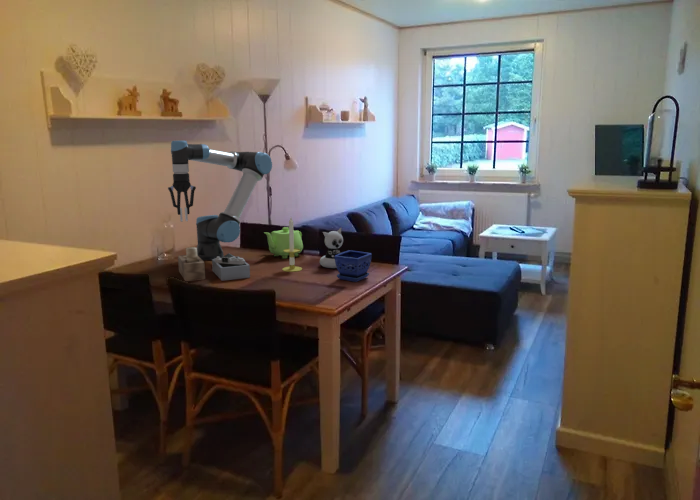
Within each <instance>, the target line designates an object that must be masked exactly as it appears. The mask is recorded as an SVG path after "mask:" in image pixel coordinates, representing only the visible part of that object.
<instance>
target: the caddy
mask: <svg viewBox="0 0 700 500" xmlns="http://www.w3.org/2000/svg"><path fill="white" fill-rule="evenodd" d="M235 257H236V258H241V257H240V256H235ZM211 268H212V270H211V271H212V272H213V273H214V274H215V275H216V276H217V277H218V279H220V281H230V280H241V279H250V278H251V266H250V264H249V263H248V262H246V261H245V265H242V266H232V267H222V266H221V265H220V264H219V263H216V262H215V259H212V260H211Z"/></svg>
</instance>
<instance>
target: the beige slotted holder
mask: <svg viewBox="0 0 700 500" xmlns="http://www.w3.org/2000/svg"><path fill="white" fill-rule="evenodd" d="M197 257H198V262H189V263H187V258H186V254H183V255H177V261H178V262H177V264H178V272H179V274H180V275H181V277H182V278H183V281H185V282H191V281H199V280H206V269H205V266H206V265H205V261H204V260H202V259H201V258H200V257H199V256H198V255H197Z"/></svg>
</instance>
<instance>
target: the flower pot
mask: <svg viewBox="0 0 700 500" xmlns="http://www.w3.org/2000/svg"><path fill="white" fill-rule="evenodd" d="M372 256H373V255H372V252H366V251H365V252H364V251H358V250H352V249H351V250H349V249H348V250H346V251H342V252H340V254H338V255H335V257H334V258H335V264H336V267H337V268H336V269H337V271H338V274H337V275H336V277H337V279H339V280H344V281H349V282H354V283H357V282H359V281H362V280H364V279H366V278H367V277H368V276H369V275H370V273H369V272H368V271H369V269H370V267H371V263H372Z"/></svg>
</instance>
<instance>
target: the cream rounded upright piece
mask: <svg viewBox="0 0 700 500" xmlns="http://www.w3.org/2000/svg"><path fill="white" fill-rule="evenodd" d="M185 253H186V254H185V255H186V258H187V263H189V262H198V257H197V246H196V247H195V246H191V247H186V248H185Z"/></svg>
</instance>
